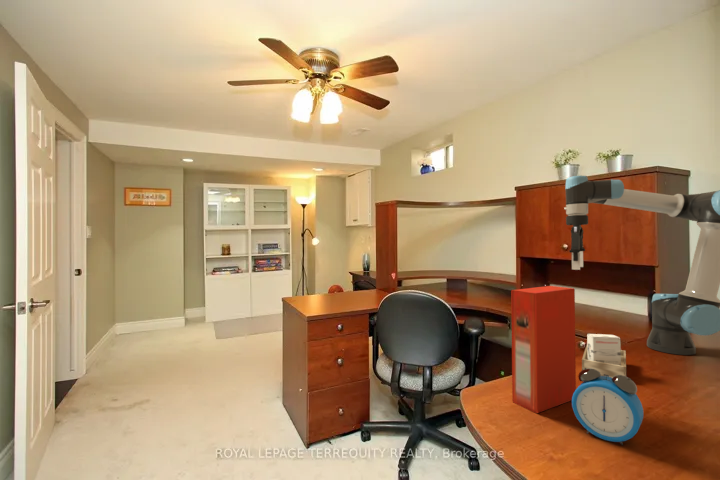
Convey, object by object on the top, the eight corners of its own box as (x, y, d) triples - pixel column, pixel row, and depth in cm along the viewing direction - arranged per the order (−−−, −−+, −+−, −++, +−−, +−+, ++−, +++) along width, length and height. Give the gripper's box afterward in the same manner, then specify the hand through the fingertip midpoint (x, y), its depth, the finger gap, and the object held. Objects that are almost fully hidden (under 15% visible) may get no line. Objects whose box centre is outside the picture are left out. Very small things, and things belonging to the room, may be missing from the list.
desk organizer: (625, 364, 128) (625, 339, 128) (626, 382, 112) (626, 354, 112) (586, 357, 135) (586, 334, 135) (581, 374, 119) (581, 347, 119)
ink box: (613, 367, 122) (613, 333, 122) (621, 373, 117) (621, 337, 117) (586, 366, 124) (586, 332, 123) (593, 371, 119) (593, 336, 118)
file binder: (511, 401, 100) (511, 289, 100) (549, 388, 108) (549, 285, 108) (537, 414, 93) (537, 293, 92) (575, 399, 101) (575, 288, 101)
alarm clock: (571, 429, 85) (571, 368, 85) (578, 420, 89) (578, 361, 89) (639, 453, 76) (639, 384, 76) (644, 441, 80) (643, 376, 80)
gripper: (569, 216, 152) (570, 265, 152) (561, 214, 132) (562, 270, 132) (590, 215, 148) (591, 266, 148) (585, 213, 128) (586, 271, 128)
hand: (577, 268), depth 140 cm, fingers open, 13 cm apart
